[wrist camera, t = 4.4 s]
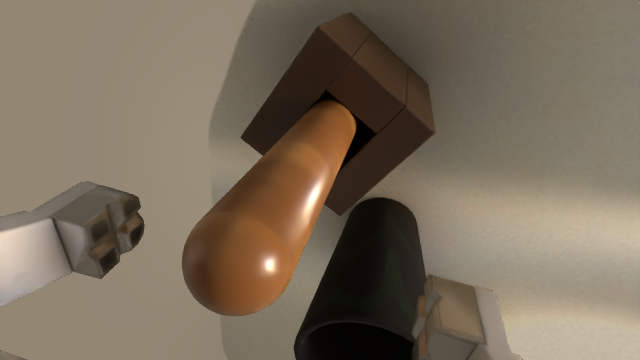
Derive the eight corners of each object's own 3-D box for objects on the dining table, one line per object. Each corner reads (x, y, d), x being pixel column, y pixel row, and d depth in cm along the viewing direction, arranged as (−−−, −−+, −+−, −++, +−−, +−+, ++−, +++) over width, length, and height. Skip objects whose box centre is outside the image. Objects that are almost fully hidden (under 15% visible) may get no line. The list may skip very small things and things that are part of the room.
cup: (319, 204, 28) (266, 331, 18) (406, 171, 24) (401, 305, 14) (362, 270, 30) (337, 413, 20) (446, 248, 27) (466, 407, 17)
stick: (330, 90, 23) (138, 290, 7) (353, 62, 21) (187, 224, 6) (356, 114, 23) (232, 357, 7) (380, 87, 22) (297, 309, 6)
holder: (289, 93, 23) (239, 137, 17) (349, 11, 20) (317, 25, 13) (359, 152, 24) (339, 217, 18) (428, 84, 21) (436, 133, 14)
